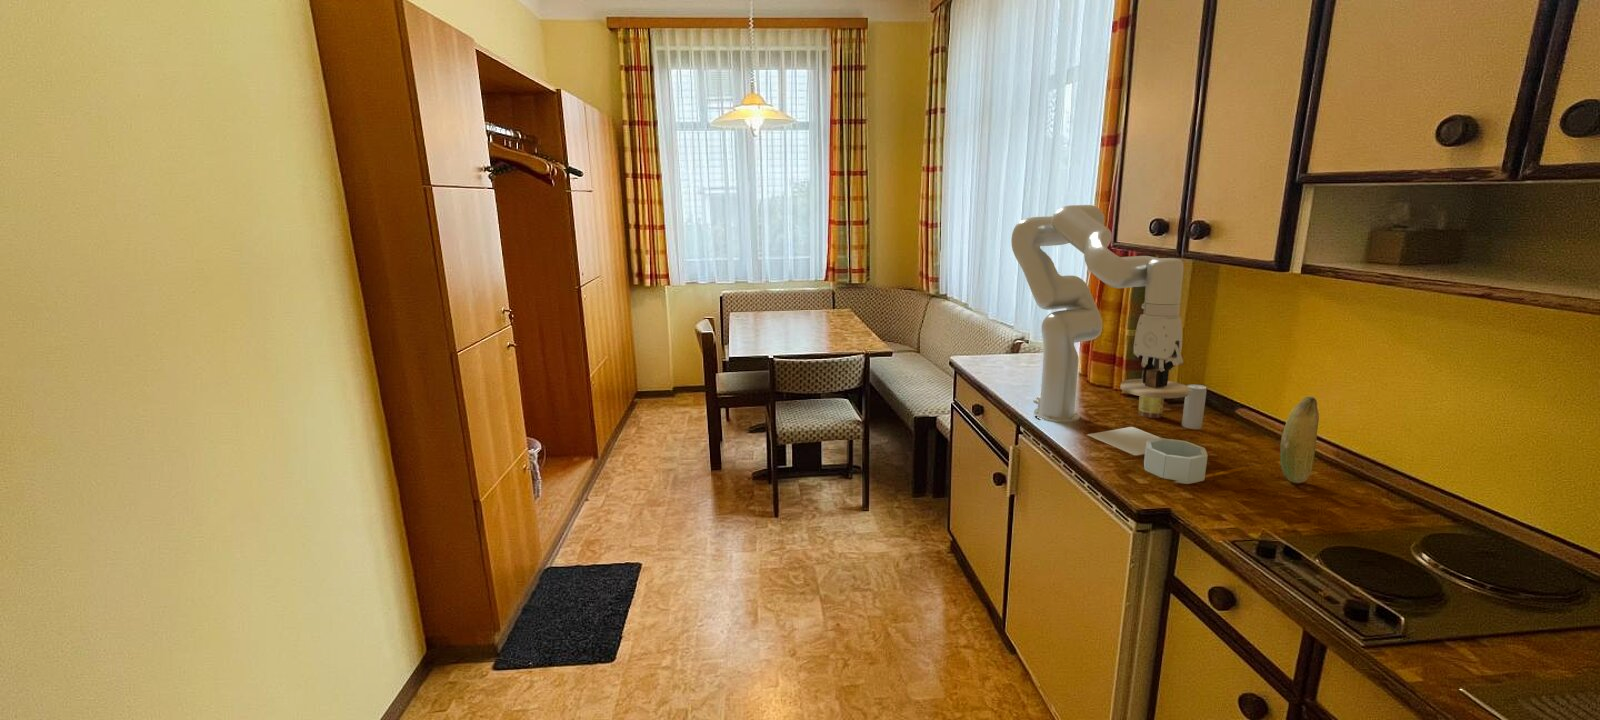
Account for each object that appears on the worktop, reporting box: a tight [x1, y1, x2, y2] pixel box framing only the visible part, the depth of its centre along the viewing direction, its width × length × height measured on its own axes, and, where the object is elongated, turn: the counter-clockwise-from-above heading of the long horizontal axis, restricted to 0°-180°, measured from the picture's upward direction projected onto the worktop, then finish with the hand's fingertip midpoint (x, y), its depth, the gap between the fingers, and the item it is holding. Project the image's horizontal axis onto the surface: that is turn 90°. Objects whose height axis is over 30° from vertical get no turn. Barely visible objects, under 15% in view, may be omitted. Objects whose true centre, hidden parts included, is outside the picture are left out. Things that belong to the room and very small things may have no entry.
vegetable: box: [1279, 396, 1320, 484], centre depth 142 cm, size 6×6×20 cm
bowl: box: [1143, 437, 1209, 485], centre depth 150 cm, size 12×12×6 cm
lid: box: [1119, 369, 1190, 399], centre depth 159 cm, size 15×15×5 cm
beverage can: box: [1181, 383, 1207, 430], centre depth 177 cm, size 5×5×12 cm
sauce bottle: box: [1137, 358, 1165, 419], centre depth 187 cm, size 7×6×20 cm
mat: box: [1086, 426, 1162, 456], centre depth 169 cm, size 16×16×1 cm
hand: (1154, 383), depth 159 cm, fingers closed on lid, 3 cm apart
